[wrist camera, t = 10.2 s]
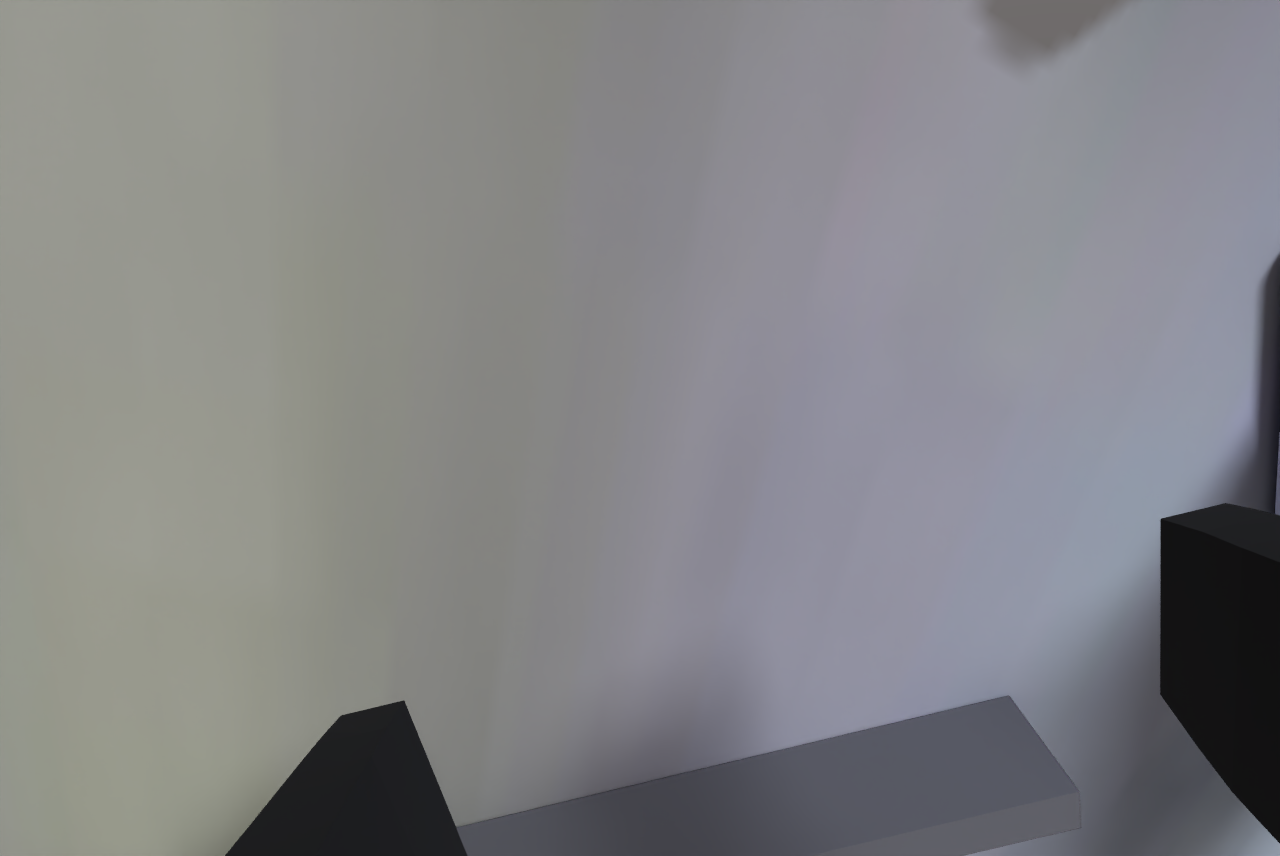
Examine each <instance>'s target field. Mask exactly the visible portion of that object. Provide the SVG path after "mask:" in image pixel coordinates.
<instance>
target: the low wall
mask: <svg viewBox="0 0 1280 856" xmlns="http://www.w3.org/2000/svg"><path fill="white" fill-rule="evenodd" d="M1078 828H1081V814H1080V792H1079V790H1078V789H1077V787H1076V786H1075V785H1074V783H1073V782H1072V781H1071V779H1070V778H1069V776H1068V775H1067V774H1066V772H1065V771H1064V770H1063V768H1062V767H1061V766H1060V764H1059V763H1058V761H1057V760H1056V759H1055V757H1054V756H1053V755H1052V753H1051V752H1050V751H1049V749H1048V748H1047V746H1046V745H1045V744H1044V742H1043V741H1042V740H1041V738H1040V737H1039V735H1038V734H1037V733H1036V731H1035V730H1034V729H1033V727H1032V726H1031V725H1030V723H1029V722H1028V720H1027V719H1026V718H1025V716H1024V715H1023V714H1022V712H1021V711H1020V710H1019V708H1018V707H1017V705H1016V704H1015V703H1014V701H1013V700H1012V699H1011V697H1010V696H1006V697H1001V698H997V699H993V700H989V701H985V702H980V703H976V704H972V705H968V706H964V707H960V708H955V709H951V710H947V711H943V712H939V713H934V714H930V715H926V716H922V717H918V718H914V719H909V720H905V721H901V722H897V723H893V724H888V725H884V726H880V727H876V728H872V729H868V730H863V731H859V732H855V733H851V734H847V735H842V736H838V737H834V738H830V739H826V740H821V741H817V742H813V743H809V744H805V745H801V746H796V747H792V748H788V749H784V750H780V751H775V752H771V753H767V754H763V755H759V756H755V757H750V758H746V759H742V760H738V761H734V762H729V763H725V764H721V765H717V766H713V767H709V768H704V769H700V770H696V771H692V772H688V773H683V774H679V775H675V776H671V777H667V778H662V779H658V780H654V781H650V782H646V783H642V784H637V785H633V786H629V787H625V788H621V789H616V790H612V791H608V792H604V793H600V794H596V795H591V796H587V797H583V798H579V799H575V800H570V801H566V802H562V803H558V804H554V805H550V806H545V807H541V808H537V809H533V810H529V811H524V812H520V813H516V814H512V815H508V816H504V817H499V818H495V819H491V820H487V821H483V822H478V823H474V824H470V825H466V826H462V827H457V828H456V829H457V831H458V834H459V836H460V839H461V841H462V843H463V846H464V848H465V851H466V853H467V856H964V855H968V854H973V853H977V852H981V851H985V850H989V849H994V848H998V847H1002V846H1006V845H1010V844H1015V843H1019V842H1023V841H1027V840H1032V839H1036V838H1040V837H1044V836H1048V835H1053V834H1057V833H1061V832H1065V831H1069V830H1074V829H1078Z"/></svg>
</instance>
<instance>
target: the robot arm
mask: <svg viewBox="0 0 1280 856" xmlns="http://www.w3.org/2000/svg"><path fill="white" fill-rule="evenodd" d="M1160 695H1161V696H1162V697H1163V699H1164V700H1165V702H1166V703H1167V704H1168V706H1169V707H1170V709H1171V710H1172V711H1173V713H1174V714H1175V716H1176V717H1177V718H1178V720H1179V721H1180V723H1181V724H1182V725H1183V727H1184V728H1185V730H1186V731H1187V732H1188V734H1189V735H1190V737H1191V738H1192V739H1193V741H1194V742H1195V744H1196V745H1197V746H1198V748H1199V749H1200V750H1201V752H1202V753H1203V754H1204V756H1205V757H1206V758H1207V760H1208V761H1209V762H1210V763H1211V765H1212V766H1213V767H1214V769H1215V770H1216V771H1217V773H1218V774H1219V775H1220V777H1221V778H1222V779H1223V780H1224V782H1225V783H1226V784H1227V786H1228V787H1229V788H1230V790H1231V791H1232V792H1233V793H1234V794H1235V795H1236V797H1237V798H1238V799H1239V800H1240V801H1241V802H1242V803H1243V804H1244V805H1245V806H1246V808H1247V809H1248V810H1249V811H1250V812H1251V813H1252V814H1253V815H1254V816H1255V817H1256V818H1257V820H1258V821H1259V822H1260V823H1261V824H1262V825H1263V826H1264V827H1265V828H1266V829H1267V830H1268V831H1269V832H1270V834H1271V835H1272V836H1273V837H1274V838H1275V839H1276V840H1277V841H1278V842H1279V843H1280V434H1279V452H1278V469H1277V486H1276V504H1275V514H1272V513H1268V512H1264V511H1259V510H1255V509H1251V508H1246V507H1241V506H1236V505H1231V504H1226V503H1225V504H1220V505H1216V506H1212V507H1208V508H1204V509H1200V510H1195V511H1191V512H1187V513H1183V514H1179V515H1175V516H1171V517H1166V518H1162V519H1161V634H1160ZM225 856H467V853H466V851H465V848H464V846H463V843H462V841H461V839H460V836H459V834H458V831H457V829H456V826H455V824H454V821H453V819H452V816H451V814H450V812H449V809H448V807H447V804H446V802H445V799H444V797H443V794H442V792H441V790H440V787H439V785H438V782H437V780H436V777H435V775H434V772H433V770H432V768H431V765H430V763H429V760H428V758H427V755H426V753H425V750H424V748H423V745H422V743H421V741H420V738H419V736H418V733H417V731H416V728H415V726H414V723H413V721H412V719H411V716H410V714H409V711H408V709H407V706H406V704H405V701H400V702H396V703H392V704H387V705H383V706H379V707H375V708H371V709H367V710H362V711H358V712H354V713H350V714H346V715H342V716H340V717H339V718H338V719H337V721H336V722H335V723H334V724H333V725H332V726H331V727H330V728H329V729H328V731H327V732H326V733H325V734H324V735H323V736H322V737H321V739H320V740H319V741H318V742H317V743H316V745H315V746H314V747H313V748H312V749H311V751H310V752H309V753H308V754H307V755H306V757H305V758H304V759H303V760H302V762H301V763H300V764H299V765H298V766H297V768H296V769H295V770H294V771H293V773H292V774H291V775H290V776H289V778H288V779H287V780H286V781H285V782H284V784H283V785H282V786H281V787H280V789H279V790H278V791H277V792H276V794H275V795H274V796H273V797H272V799H271V800H270V801H269V802H268V804H267V805H266V806H265V807H264V809H263V810H262V811H261V812H260V814H259V815H258V816H257V817H256V818H255V820H254V821H253V822H252V823H251V825H250V826H249V827H248V828H247V830H246V831H245V832H244V833H243V834H242V836H241V837H240V838H239V839H238V841H237V842H236V843H235V844H234V845H233V847H232V848H231V849H230V850H229V851H228V853H227V854H226V855H225Z"/></svg>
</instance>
